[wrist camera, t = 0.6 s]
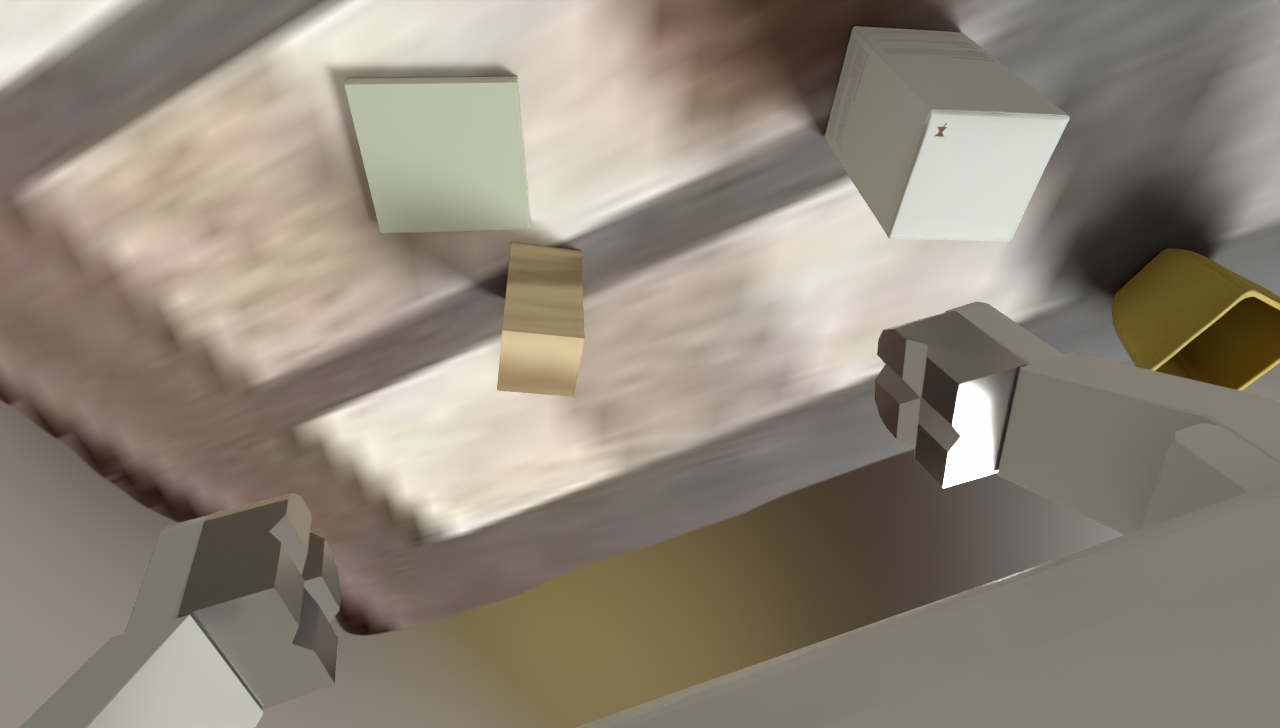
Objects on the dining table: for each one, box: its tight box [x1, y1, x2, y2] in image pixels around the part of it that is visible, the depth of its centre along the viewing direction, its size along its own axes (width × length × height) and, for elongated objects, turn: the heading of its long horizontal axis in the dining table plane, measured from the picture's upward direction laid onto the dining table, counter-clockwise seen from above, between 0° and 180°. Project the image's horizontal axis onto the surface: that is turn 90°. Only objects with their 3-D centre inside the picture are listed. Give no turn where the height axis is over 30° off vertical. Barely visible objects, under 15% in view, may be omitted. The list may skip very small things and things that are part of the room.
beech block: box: [497, 242, 585, 397], centre depth 50 cm, size 5×5×10 cm
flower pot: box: [1112, 249, 1280, 391], centre depth 56 cm, size 9×9×9 cm
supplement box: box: [825, 26, 1070, 241], centre depth 42 cm, size 7×7×13 cm
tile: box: [344, 76, 531, 233], centre depth 47 cm, size 10×10×1 cm
